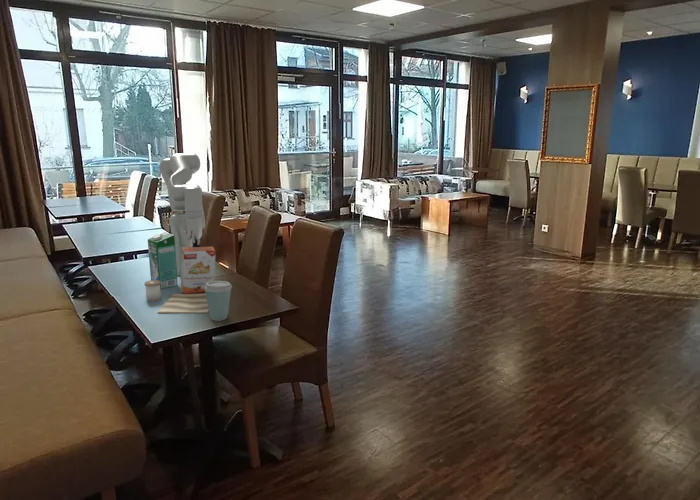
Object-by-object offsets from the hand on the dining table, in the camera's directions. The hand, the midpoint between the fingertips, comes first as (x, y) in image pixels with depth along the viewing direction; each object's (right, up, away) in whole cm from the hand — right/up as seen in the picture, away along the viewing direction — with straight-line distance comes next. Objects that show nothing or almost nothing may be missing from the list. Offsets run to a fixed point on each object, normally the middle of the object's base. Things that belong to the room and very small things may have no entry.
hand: (196, 253), depth 226 cm
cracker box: (0, -17, +2) cm, 17 cm away
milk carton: (-19, -16, +11) cm, 27 cm away
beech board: (+1, -22, -13) cm, 25 cm away
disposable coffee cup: (+18, -26, -29) cm, 43 cm away
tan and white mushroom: (-16, -20, -8) cm, 27 cm away
